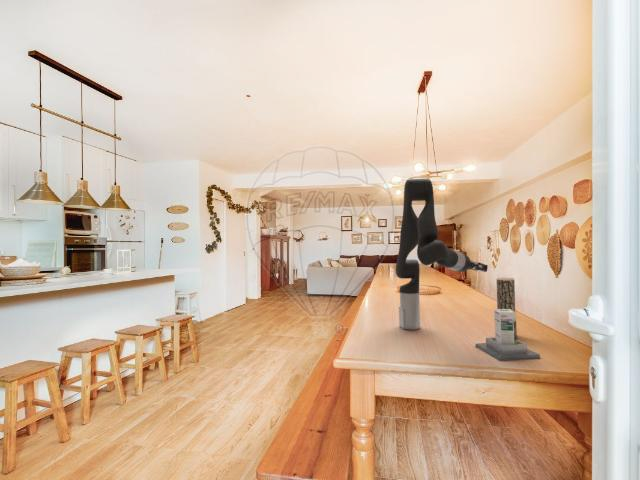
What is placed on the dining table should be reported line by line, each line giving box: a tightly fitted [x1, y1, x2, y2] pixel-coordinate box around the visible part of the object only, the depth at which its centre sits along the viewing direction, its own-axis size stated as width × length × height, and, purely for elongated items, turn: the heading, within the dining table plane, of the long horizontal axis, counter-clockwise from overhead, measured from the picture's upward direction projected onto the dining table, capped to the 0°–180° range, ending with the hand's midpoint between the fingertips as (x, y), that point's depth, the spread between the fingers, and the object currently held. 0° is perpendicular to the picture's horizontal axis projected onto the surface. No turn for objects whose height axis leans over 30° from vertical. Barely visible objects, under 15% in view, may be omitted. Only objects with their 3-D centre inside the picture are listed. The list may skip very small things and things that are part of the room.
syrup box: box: [493, 308, 518, 345], centre depth 120 cm, size 6×6×14 cm
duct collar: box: [475, 336, 541, 362], centre depth 120 cm, size 15×15×4 cm
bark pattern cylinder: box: [495, 276, 516, 312], centre depth 140 cm, size 7×7×25 cm
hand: (475, 268), depth 136 cm, fingers open, 8 cm apart
